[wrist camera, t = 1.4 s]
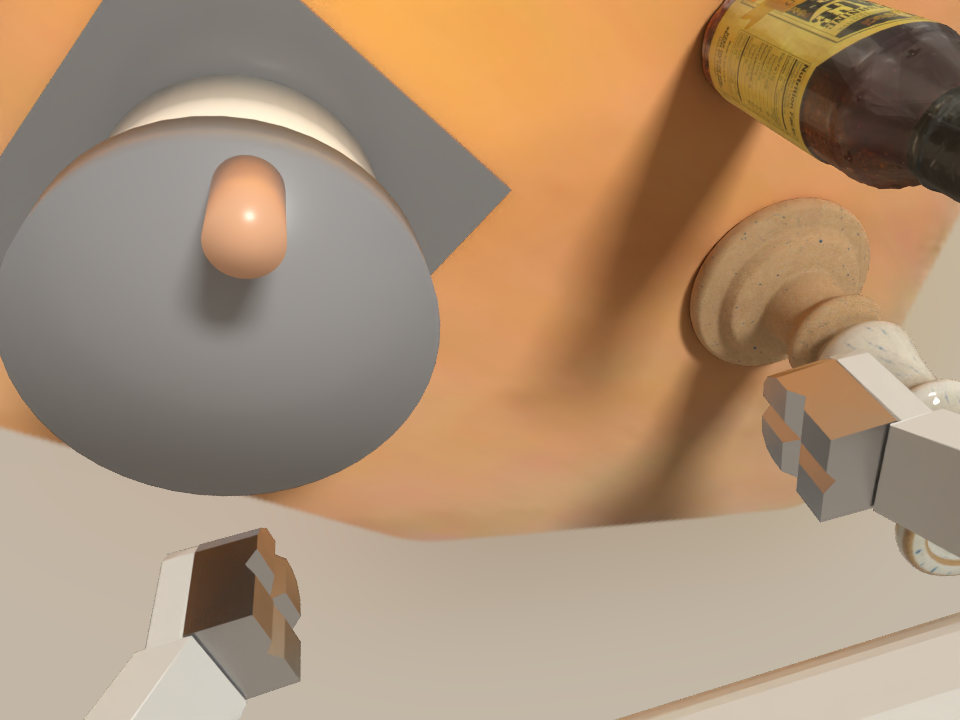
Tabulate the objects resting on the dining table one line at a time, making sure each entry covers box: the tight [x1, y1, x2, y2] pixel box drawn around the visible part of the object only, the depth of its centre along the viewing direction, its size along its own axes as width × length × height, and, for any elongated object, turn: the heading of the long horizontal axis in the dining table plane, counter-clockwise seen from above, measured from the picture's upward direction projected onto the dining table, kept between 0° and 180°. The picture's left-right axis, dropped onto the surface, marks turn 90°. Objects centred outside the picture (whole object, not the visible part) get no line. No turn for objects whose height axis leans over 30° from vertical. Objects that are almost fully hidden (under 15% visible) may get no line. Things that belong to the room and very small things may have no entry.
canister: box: [0, 0, 511, 275], centre depth 34 cm, size 20×20×9 cm
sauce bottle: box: [702, 0, 960, 203], centre depth 30 cm, size 7×6×20 cm
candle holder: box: [690, 198, 960, 576], centre depth 40 cm, size 12×12×20 cm
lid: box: [0, 116, 440, 496], centre depth 27 cm, size 16×16×7 cm
